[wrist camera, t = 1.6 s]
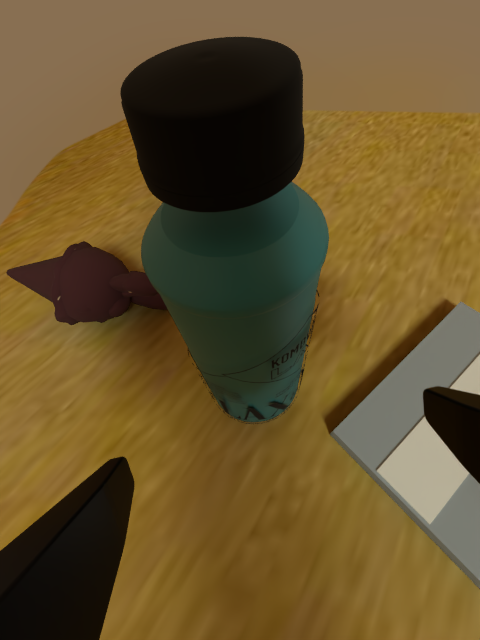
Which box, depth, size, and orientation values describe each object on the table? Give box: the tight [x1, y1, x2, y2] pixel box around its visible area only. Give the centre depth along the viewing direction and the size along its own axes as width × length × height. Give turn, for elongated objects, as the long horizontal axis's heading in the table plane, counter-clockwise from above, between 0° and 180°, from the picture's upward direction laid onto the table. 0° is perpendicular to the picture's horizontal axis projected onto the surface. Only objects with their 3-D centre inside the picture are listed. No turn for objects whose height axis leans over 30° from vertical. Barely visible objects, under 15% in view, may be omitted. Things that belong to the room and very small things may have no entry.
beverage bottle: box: [121, 37, 329, 424], centre depth 14 cm, size 6×7×20 cm
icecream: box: [7, 242, 167, 325], centre depth 26 cm, size 7×7×15 cm
